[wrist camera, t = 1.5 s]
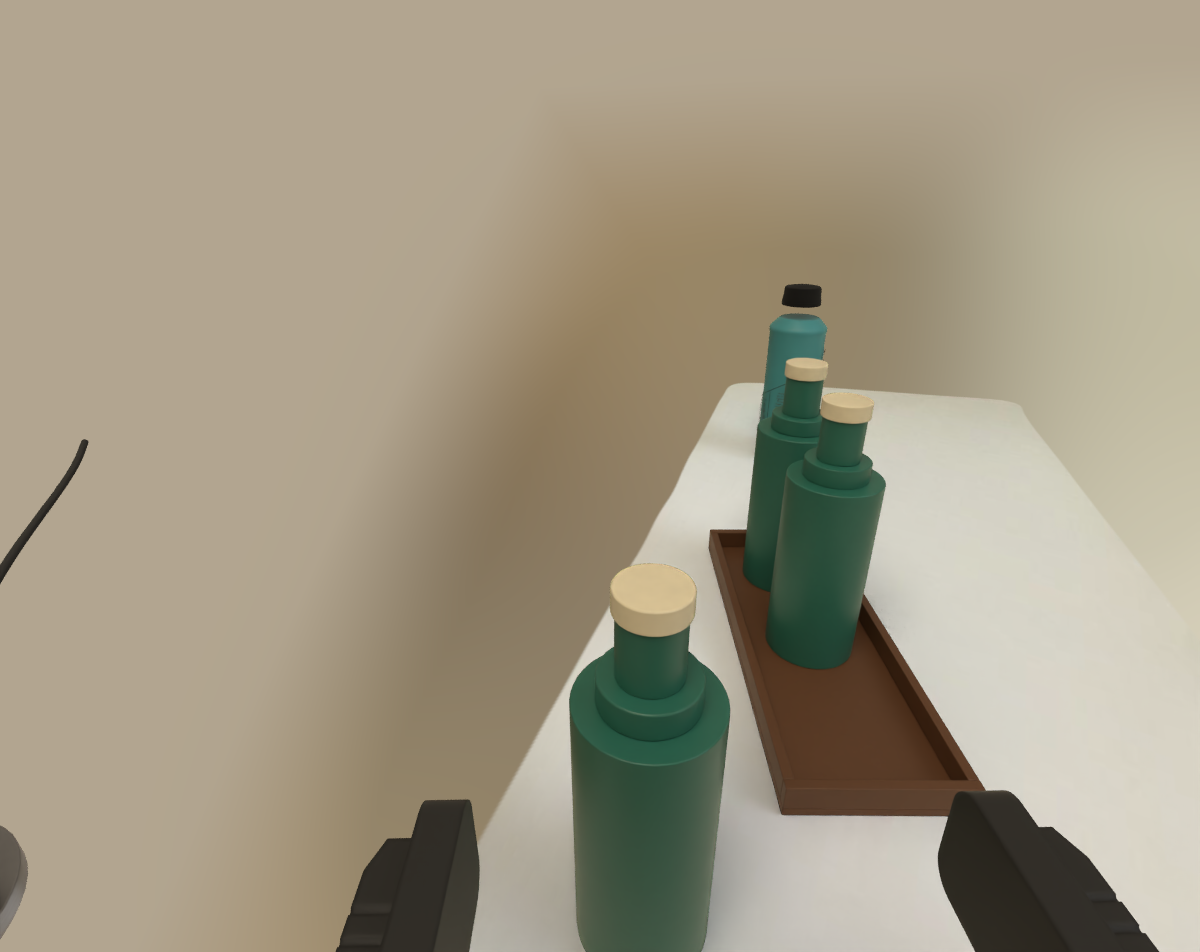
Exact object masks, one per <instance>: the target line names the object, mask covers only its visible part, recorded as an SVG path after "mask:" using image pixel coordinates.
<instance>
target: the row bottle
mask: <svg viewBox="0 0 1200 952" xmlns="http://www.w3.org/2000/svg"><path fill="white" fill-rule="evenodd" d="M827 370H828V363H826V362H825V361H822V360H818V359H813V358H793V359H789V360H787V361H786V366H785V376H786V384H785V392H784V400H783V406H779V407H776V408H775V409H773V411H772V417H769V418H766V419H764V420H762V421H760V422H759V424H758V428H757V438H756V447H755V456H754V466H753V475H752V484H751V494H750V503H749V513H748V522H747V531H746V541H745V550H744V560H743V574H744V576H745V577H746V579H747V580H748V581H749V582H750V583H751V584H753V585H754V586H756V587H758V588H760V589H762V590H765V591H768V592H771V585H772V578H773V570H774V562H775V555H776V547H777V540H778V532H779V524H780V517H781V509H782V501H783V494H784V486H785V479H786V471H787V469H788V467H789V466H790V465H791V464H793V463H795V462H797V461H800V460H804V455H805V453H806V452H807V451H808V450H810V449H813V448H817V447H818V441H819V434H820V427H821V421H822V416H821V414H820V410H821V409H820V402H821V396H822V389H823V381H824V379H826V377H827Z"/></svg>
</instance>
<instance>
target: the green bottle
mask: <svg viewBox="0 0 1200 952" xmlns="http://www.w3.org/2000/svg"><path fill="white" fill-rule="evenodd" d="M696 595H697V589H696V586H695V583H694V581H693V580H692V579H691V577H689V576H688V575H687V574H686V573H684V572H683V571H681V570H679V569H677V568H674V567H671V566H668V565H663V564H653V563H648V564H638V565H634V566H630V567H628V568H625V569H623V570H622V571H620V572H619V573H618V574H616V576H615V577H614V578H613V580H612V582H611V585H610V612H611V615H612V617H613V619H614V647H613V648H611V649H610V650H608V651H607V652H606V653H605V654H604V655H603V656H601V657H599V658H597V659H596V660H594V661H593V662H591V663H590V664H589V665H588V666H587V667H586V668H585V669H584V670H583V671H582V672H581V673H580V674H579V676H578V677H577V679H576V681H575V682H574V684H573V687H572V690H571V693H570V699H569V708H570V737H571V766H572V795H573V824H574V854H575V883H576V912H577V926H578V932H579V936H580V940H581V942H582V945H583V947H584V949H585V951H586V952H701V951H702V948H703V945H704V942H705V937H706V931H707V922H708V913H709V904H710V894H711V885H712V876H713V867H714V858H715V849H716V840H717V831H718V821H719V812H720V803H721V794H722V785H723V776H724V767H725V757H726V748H727V739H728V730H729V721H730V703H729V699H728V696H727V693H726V690H725V689H724V687H723V685H722V683H721V682H720V680H719V679H718V678H717V676H716V675H715V674H714V673H713V672H712V671H711V670H710V669H709V668H707V667H706V666H705V665H703V664H702V663H701V662H699V661H698V660H697V659H696V657H695V656H694V655H692V654H691V653H690V652H689V651H688V645H689V631H690V624H691V622H692V621H693V619H694V616H695V609H696Z"/></svg>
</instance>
